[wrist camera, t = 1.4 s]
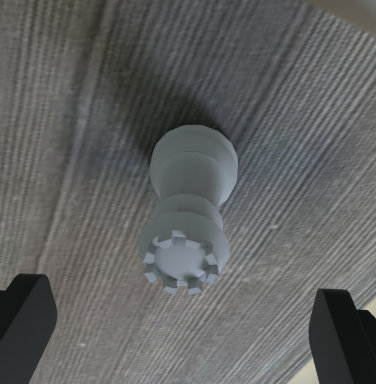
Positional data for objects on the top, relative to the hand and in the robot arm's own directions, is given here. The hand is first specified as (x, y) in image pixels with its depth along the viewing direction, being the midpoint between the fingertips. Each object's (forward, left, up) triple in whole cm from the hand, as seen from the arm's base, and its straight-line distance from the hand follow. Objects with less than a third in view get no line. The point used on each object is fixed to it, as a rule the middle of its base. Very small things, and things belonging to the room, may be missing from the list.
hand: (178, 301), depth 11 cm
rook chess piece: (0, 0, -10) cm, 10 cm away
